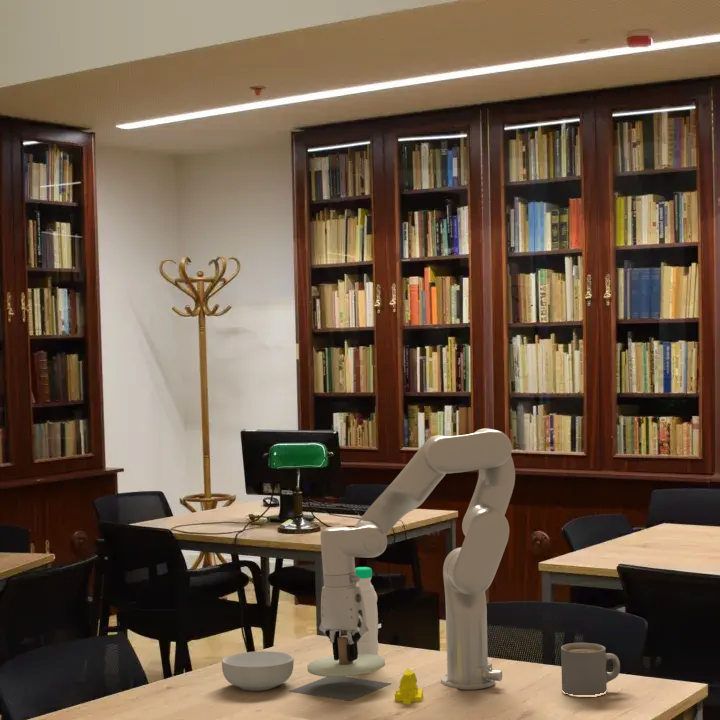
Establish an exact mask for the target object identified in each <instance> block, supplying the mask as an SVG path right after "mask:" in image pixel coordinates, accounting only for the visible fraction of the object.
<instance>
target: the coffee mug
mask: <svg viewBox="0 0 720 720" xmlns="http://www.w3.org/2000/svg"><path fill="white" fill-rule="evenodd" d="M606 649H607V648H606V647H605V646H604V645H602V644H599V643H592V642H591V643H589V642H573V643H566V644H563V645H561V647H560V660H561V661H560V662H561V666H560V667H561V669H560V670H561V691H562V690H563V691H564V692H565V693H568V694H573V695H595V694H600V693H604V692H605V691H606V690H608V687H607V686H608V685H607V684H608V682H610V681H613V680H615V679H617V678H618V676H619V674H620V670H621V663H620V662H621V661H620V660H619V659H620V658H619V657H618V656H617V655H616V654H614V653H611V652H610V653H609V652H607V653H606V651H607V650H606ZM609 660H610V661H612V664H613V669H612V671H611V672H607V662H608V661H609Z"/></svg>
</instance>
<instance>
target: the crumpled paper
mask: <svg viewBox="0 0 720 720" xmlns="http://www.w3.org/2000/svg"><path fill="white" fill-rule="evenodd" d="M399 683H400V684H399V686H398V688H399V689H397V690H395V693H394V701H395V702H402V704H403V705H411V704H412V702H418V703H419V702H422V700H423V698H424V689H423V688H421V689H419V687H418V685H417V683H418V679H417V676H416V673H415V672H414V671H412V669H409V668H408V667H407V669H406V670H405V672H404V674H403V675H402V677H401V679H400V681H399Z"/></svg>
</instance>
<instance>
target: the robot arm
mask: <svg viewBox="0 0 720 720" xmlns="http://www.w3.org/2000/svg"><path fill="white" fill-rule="evenodd" d="M512 451H513V445H512V442H511V439H510V438H509V437H508V435H507V434H505V433H504V432H503V431H500V430H497V429H493V428H488V427H487V428H480V429H477V430H476V431H474V432H473V433H469V434H461V435H451V436H447V435H443V434H442V435H438V434H436V435H433V436H430V438H428V439H427V440H426V441H425V442H424V443H423V444H422V445H421V447H419V449H418V450H417V452H415V454H414V455H413V457H411V459H410V460H409V462H408V463H407V464H406V465H405V466H404V468H403V469H402V470H401V471H400V473H399V474H397V476H396V477H395V478H394V479H393V481H392V482H391V483H390V484H389V485H388V486H387V487H386V488H385V489H384V491H383V492H382V493H381V494H380V495H379V496H378V497H377V498H376V499H375V500H374V502H373V503H371V505H370V506H369V507H368V509H367V510H366V511H365V512H364V514H363V515H362V516H361V517H360V519H359V520H358V521H357V522H356V523H355V525H354V527H353V528H350V527H349V526H345V525H343V526H341V525H339V526H338V525H337V526H329V527H326V528H324V529H321V532H320V547H321V550H320V551H321V560H322V575H323V586H322V587H321V596H320V618H321V619H320V620H321V622H320V624H319V627H318V630H319V631H321V632H322V633H324V634H325V635H326V636H327V638H328V639H329V642H330V643H331V644H332V654H333V655H334V660H339V654H338V641H337V637H339V636H342V635H341V633H342V632H343V631H346V636H347V637H348V642H349V644H347V657H348V661H349V662H351V661H354V660H356V659H357V658H358V648H357V642H358V641H359V639H360V638H361V637H362V635H364V634H366V633H367V632H368V631H369V629H368V627H367V625H366V613H365V606H364V600H363V596H362V592H361V589H360V586H359V585H356V582H359V581H360V578H359V576H356V572H355V568H356V564H355V558H368V559H369V558H376V557H379V556H380V555H382V554H383V553H384V552H385V551H386V549H387V546H388V537H387V535H388V534H389V533H390V531H392V529H393V528H394V527H395V526H396V524H398V522H399V521H400V520H401V519H403V517H405V516H406V515H407V514H409V513H410V512H412V511H414V510H416V509H417V508H418V507H420V506H421V505H423V503H424V502H425V501H426V499H427V498H428V497H429V496H430V494H431V493H432V492H433V491H434V489H435V488H436V486H437V485H438V484H439V483H440V482H441V480H443V478H444V477H445V476H446V474H454V473H455V474H458V473H465V472H472V471H478V479H477V481H476V482H477V483H476V485H475V489H474V492H473V495H472V497H471V499H470V502H469V505H468V508H467V510H466V513H465V514H464V516H463V519H462V523H461V529H462V533H463V535H464V539H463V542H462V545H461V547H456V548H455V549H453V550H451V551H450V552H449V553H448V554H447V556H446V557H445V559H444V562H443V567H442V578H443V585H444V586H443V587H444V596H445V627H446V628H445V630H446V635H445V636H446V671H447V674H445V675H442V676H441V678H440V684H442V685H445V686H447V687H449V688H456V689H457V690H464V691H465V690H471V691H472V690H482V689H487V688H490V687H492V686H494V685H495V684H496V682H502V680H503V671H502V670H495V669H493V664H492V663H489V659H488V656H489V655H488V620H487V617H488V616H487V615H488V614H487V613H488V611H487V610H488V609H487V597H486V596H487V595H486V591H487V590H488V589H489V587H490V586H491V584H493V583H492V582H493V580H494V578H495V576H496V573H497V572H498V571H497V570H498V568H499V566H500V563H501V560H502V558H503V555H504V552H505V549H506V547H507V545H508V542H509V537H510V525H509V521H508V519H507V517H506V516H505V515H506V513H507V509H508V507H509V503H510V501H511V498H512V494H513V492H514V491H513V490H514V487H515V482H516V470H515V464H514V459H513V457H512ZM357 627H359V628H360V630H359V631H358V629H357ZM341 631H342V632H341ZM352 632H353V633H352ZM333 655H332V656H333Z"/></svg>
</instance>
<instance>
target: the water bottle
mask: <svg viewBox="0 0 720 720" xmlns="http://www.w3.org/2000/svg"><path fill="white" fill-rule="evenodd" d="M355 572H356V576H359V578H360V581H359V582H356V585H359V586H360V589H361V592H362V596H363V600H364V606H365V613H366V625H367V627H368V629H369V631H368V632H367V633H366V634H364V635H362V637H361V638H360V639H359V641H358V642H357V648H358V653H362V654H373V655H378V656H379V641H378V635H379V617H378V615H379V613H378V604H377V603H378V595H377V594H378V593H377V592H376V591H375V587H374V585H373V584H372V582H371V580H372V577H373V569H372V568H371V567H368V566H357V567H355ZM357 629H358V631H359V630H360V628H359V627H357ZM352 633H353V632H352Z"/></svg>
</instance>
